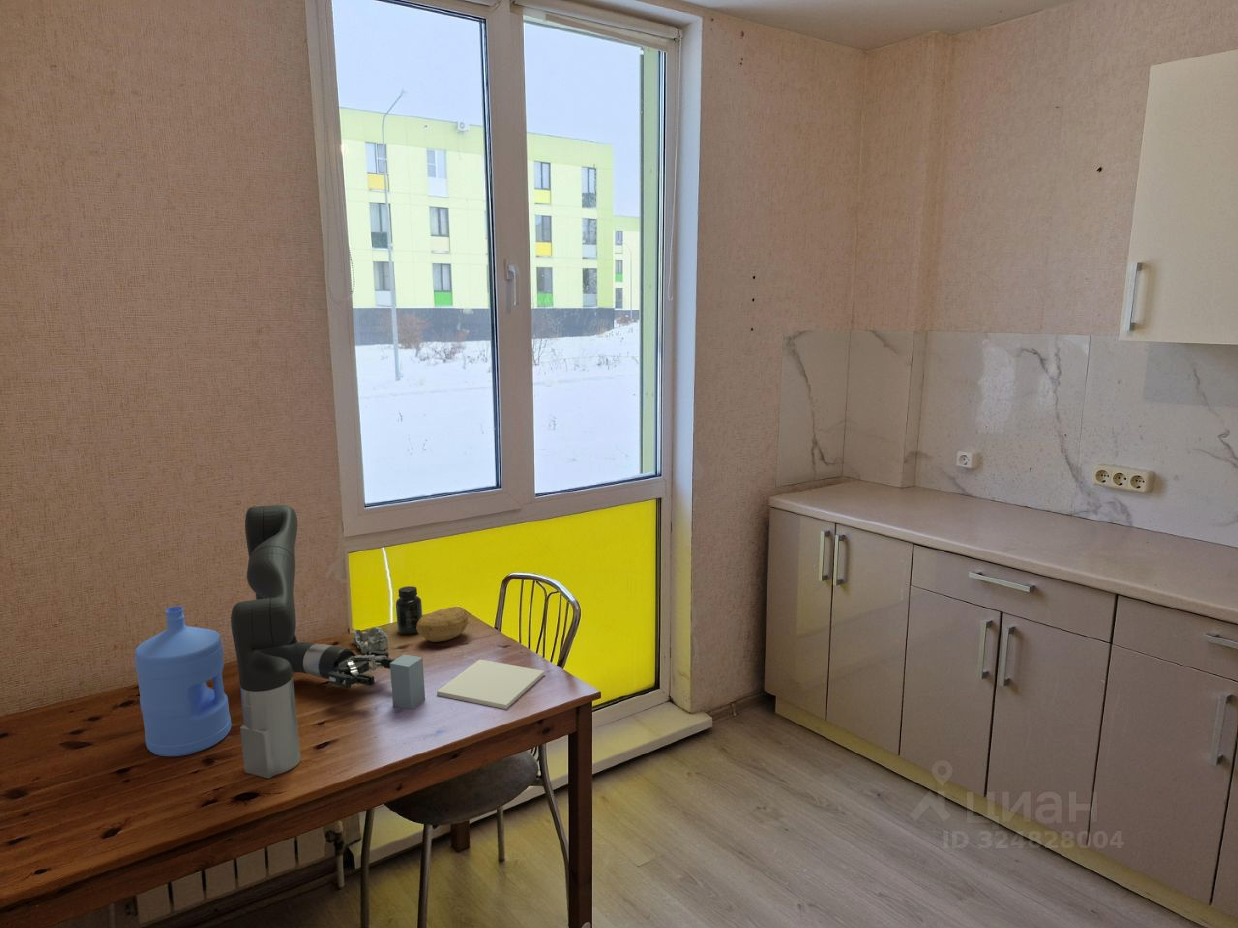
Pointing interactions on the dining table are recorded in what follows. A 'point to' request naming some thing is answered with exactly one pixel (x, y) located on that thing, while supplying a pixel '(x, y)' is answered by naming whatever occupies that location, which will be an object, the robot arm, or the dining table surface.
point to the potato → (442, 624)
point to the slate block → (407, 681)
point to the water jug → (182, 688)
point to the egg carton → (370, 639)
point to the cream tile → (491, 683)
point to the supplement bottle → (408, 610)
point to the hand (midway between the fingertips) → (385, 672)
